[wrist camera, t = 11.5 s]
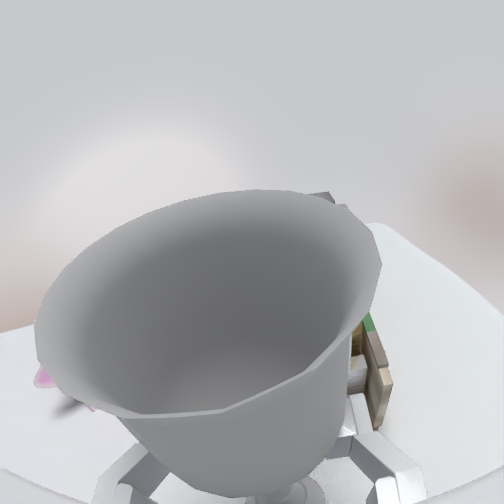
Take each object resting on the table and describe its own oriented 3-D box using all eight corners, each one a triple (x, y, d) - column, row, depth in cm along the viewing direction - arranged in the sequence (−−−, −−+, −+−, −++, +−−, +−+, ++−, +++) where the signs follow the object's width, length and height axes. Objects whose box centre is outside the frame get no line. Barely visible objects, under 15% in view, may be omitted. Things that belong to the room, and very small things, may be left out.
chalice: (221, 472, 17) (82, 231, 9) (316, 444, 18) (290, 174, 10) (245, 564, 11) (-14, 437, 2) (357, 530, 12) (478, 304, 3)
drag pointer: (340, 381, 23) (341, 292, 18) (338, 370, 24) (337, 281, 19) (357, 378, 22) (363, 288, 18) (354, 367, 23) (358, 278, 19)
